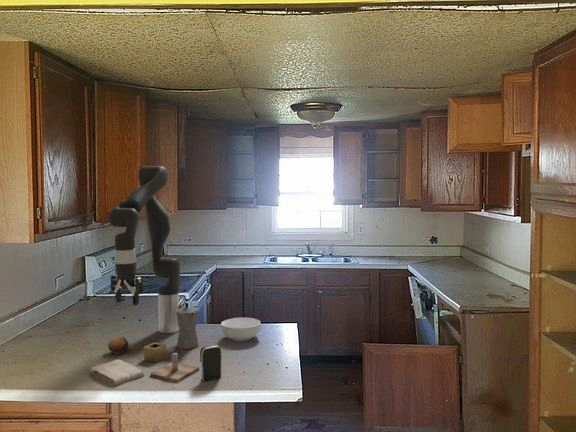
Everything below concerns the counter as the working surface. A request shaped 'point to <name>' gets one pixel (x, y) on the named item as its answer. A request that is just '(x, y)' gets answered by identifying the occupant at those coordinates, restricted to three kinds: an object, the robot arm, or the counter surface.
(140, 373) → the washcloth
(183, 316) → the coffeepot
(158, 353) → the collar
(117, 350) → the brown round lump
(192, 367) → the post base
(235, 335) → the cereal bowl
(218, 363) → the battery charger
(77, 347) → the counter surface
